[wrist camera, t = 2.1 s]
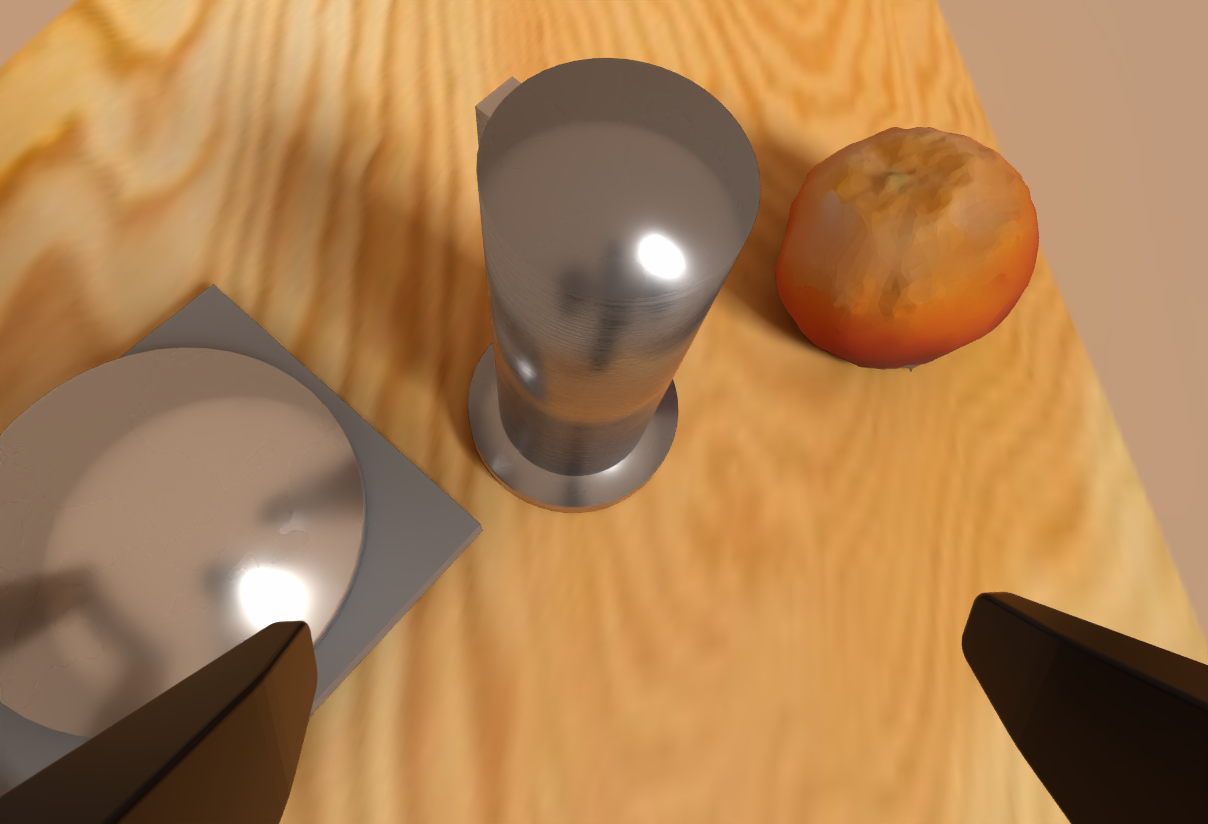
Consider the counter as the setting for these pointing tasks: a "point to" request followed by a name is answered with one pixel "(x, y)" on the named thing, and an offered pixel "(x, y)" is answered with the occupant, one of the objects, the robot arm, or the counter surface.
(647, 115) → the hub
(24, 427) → the flange disc
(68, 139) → the counter surface
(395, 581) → the board
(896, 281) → the fruit
